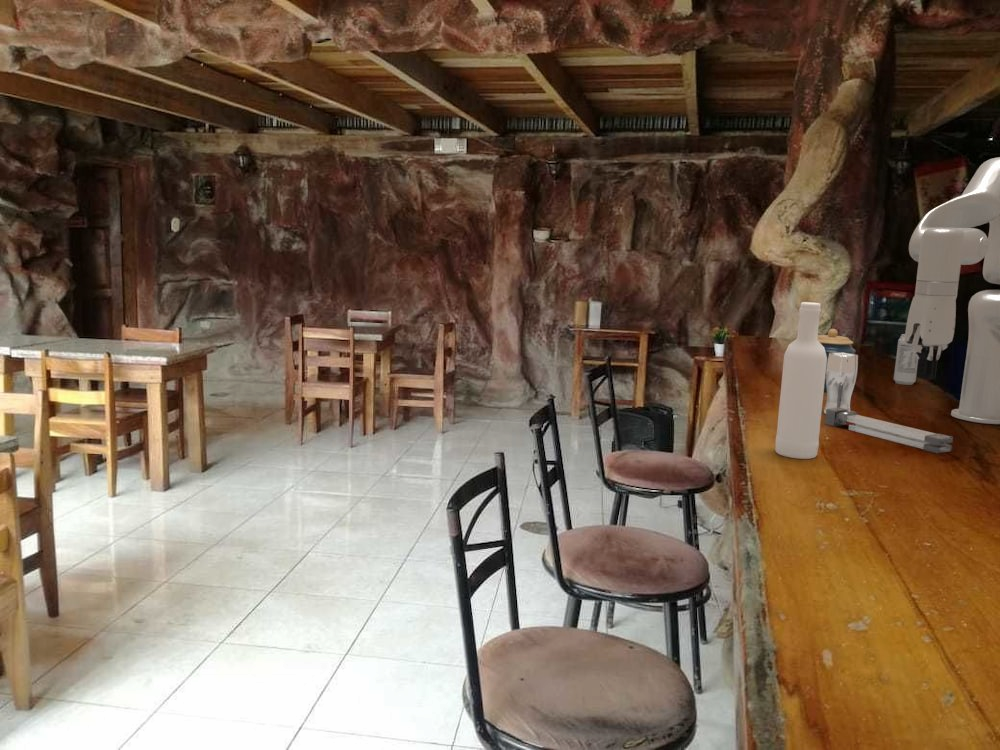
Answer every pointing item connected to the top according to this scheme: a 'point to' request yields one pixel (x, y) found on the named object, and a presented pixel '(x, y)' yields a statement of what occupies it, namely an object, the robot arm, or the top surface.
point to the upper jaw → (893, 428)
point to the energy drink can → (905, 363)
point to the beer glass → (840, 379)
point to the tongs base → (884, 433)
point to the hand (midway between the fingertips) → (925, 378)
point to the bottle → (802, 389)
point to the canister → (835, 345)
